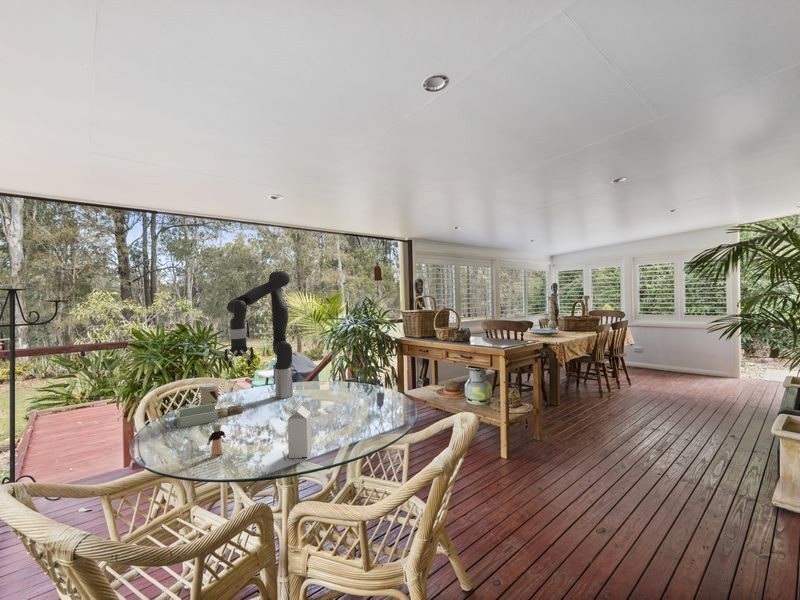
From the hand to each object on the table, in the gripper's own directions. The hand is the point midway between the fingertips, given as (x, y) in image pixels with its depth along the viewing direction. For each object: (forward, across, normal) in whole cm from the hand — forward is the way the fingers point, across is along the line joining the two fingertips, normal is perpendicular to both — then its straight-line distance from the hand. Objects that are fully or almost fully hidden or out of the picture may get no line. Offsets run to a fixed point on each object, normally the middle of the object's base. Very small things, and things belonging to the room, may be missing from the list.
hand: (240, 367), depth 189 cm
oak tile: (+23, +10, +6) cm, 26 cm away
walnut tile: (+23, +3, +4) cm, 24 cm away
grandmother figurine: (+23, +3, +54) cm, 59 cm away
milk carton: (+23, -28, +65) cm, 75 cm away
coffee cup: (+23, +18, -13) cm, 32 cm away
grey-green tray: (+22, +20, +8) cm, 31 cm away
